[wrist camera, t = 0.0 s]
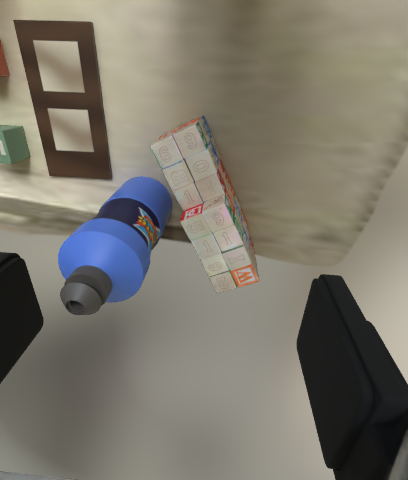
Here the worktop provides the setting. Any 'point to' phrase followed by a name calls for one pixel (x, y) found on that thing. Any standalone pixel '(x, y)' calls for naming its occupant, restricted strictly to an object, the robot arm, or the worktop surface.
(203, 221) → the stack of blocks
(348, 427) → the robot arm
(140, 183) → the water bottle
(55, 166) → the word board
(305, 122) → the worktop surface
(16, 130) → the letter I
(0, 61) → the letter H
